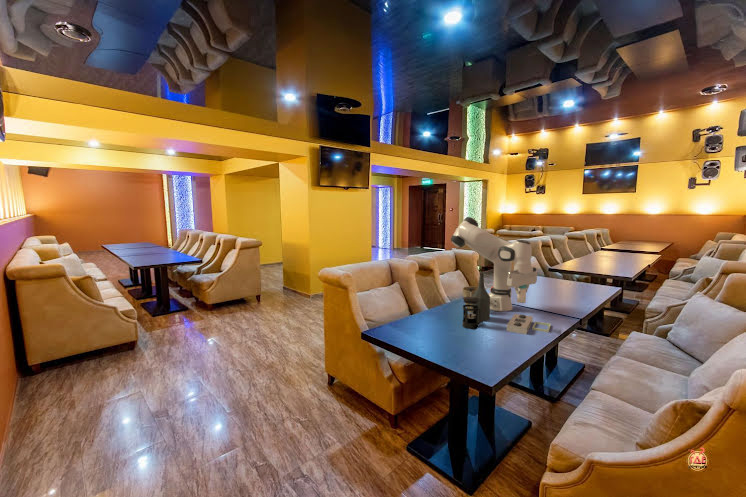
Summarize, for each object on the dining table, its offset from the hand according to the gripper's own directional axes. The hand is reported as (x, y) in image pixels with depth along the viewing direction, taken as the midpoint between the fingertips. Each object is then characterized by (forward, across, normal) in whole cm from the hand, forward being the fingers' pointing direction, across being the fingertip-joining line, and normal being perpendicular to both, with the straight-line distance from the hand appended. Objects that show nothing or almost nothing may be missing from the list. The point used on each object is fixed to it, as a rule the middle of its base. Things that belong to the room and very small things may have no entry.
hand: (521, 293), depth 182 cm
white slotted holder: (+21, 0, 0) cm, 21 cm away
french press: (+21, -21, +17) cm, 35 cm away
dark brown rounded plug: (+19, -7, -4) cm, 20 cm away
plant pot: (+21, -1, +37) cm, 43 cm away
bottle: (+21, -9, +22) cm, 32 cm away
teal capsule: (+5, 0, 0) cm, 5 cm away
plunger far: (+19, +6, +4) cm, 20 cm away
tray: (+21, +9, -7) cm, 24 cm away
